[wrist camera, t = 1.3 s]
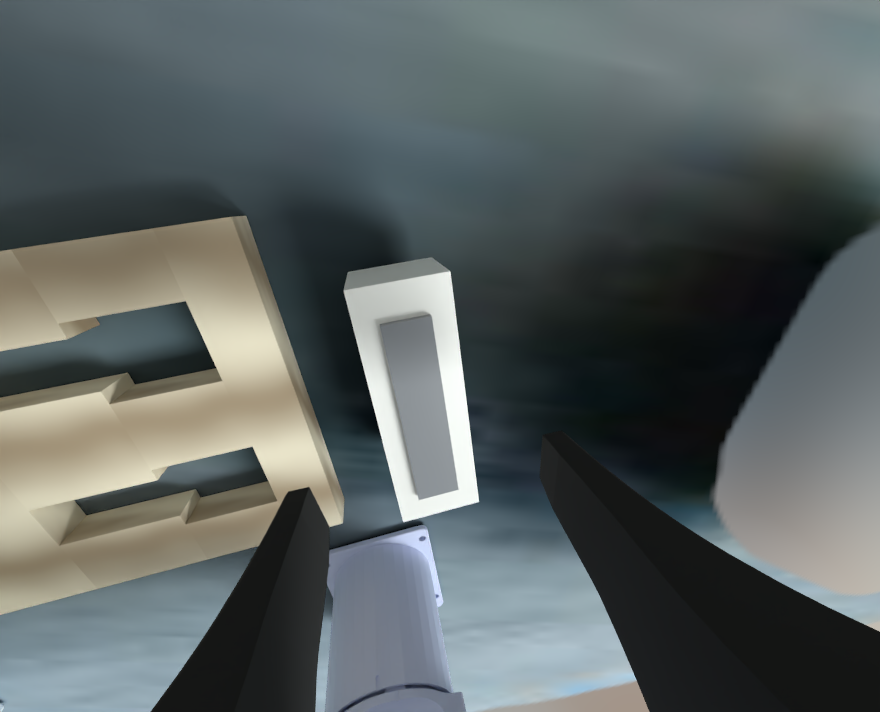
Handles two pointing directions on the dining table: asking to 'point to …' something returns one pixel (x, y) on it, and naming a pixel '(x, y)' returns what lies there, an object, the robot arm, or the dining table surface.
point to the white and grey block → (415, 381)
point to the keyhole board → (147, 412)
